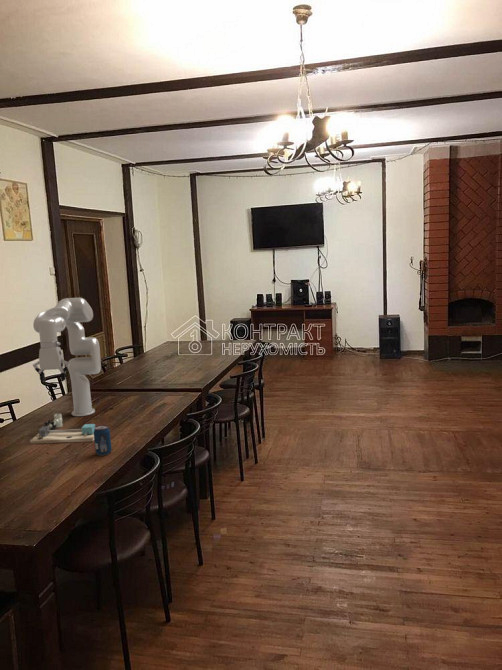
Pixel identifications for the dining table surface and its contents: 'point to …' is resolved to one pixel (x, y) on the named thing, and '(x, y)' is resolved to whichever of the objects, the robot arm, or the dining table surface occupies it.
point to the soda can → (102, 440)
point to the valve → (55, 422)
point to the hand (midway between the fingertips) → (53, 381)
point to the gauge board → (60, 436)
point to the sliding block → (88, 429)
